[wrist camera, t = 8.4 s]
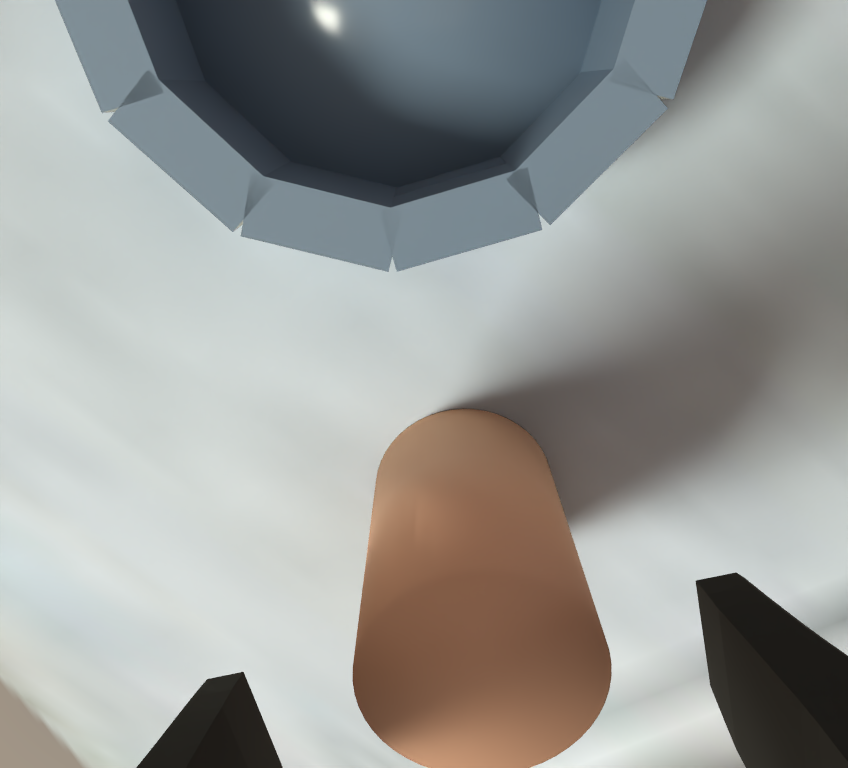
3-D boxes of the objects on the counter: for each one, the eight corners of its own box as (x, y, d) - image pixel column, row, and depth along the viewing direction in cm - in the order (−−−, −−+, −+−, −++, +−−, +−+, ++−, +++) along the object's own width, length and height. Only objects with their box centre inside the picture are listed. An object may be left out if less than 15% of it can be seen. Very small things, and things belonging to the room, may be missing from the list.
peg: (574, 431, 17) (647, 599, 11) (523, 579, 18) (566, 794, 13) (398, 390, 17) (384, 544, 11) (359, 544, 18) (329, 750, 12)
